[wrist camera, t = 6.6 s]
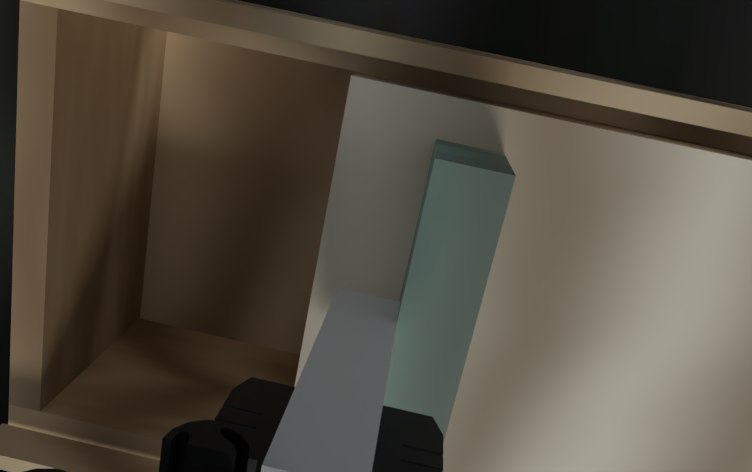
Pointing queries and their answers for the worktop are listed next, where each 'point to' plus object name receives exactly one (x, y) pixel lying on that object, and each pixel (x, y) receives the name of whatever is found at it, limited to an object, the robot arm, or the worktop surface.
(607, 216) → the cover plate
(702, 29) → the worktop surface
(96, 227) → the box
